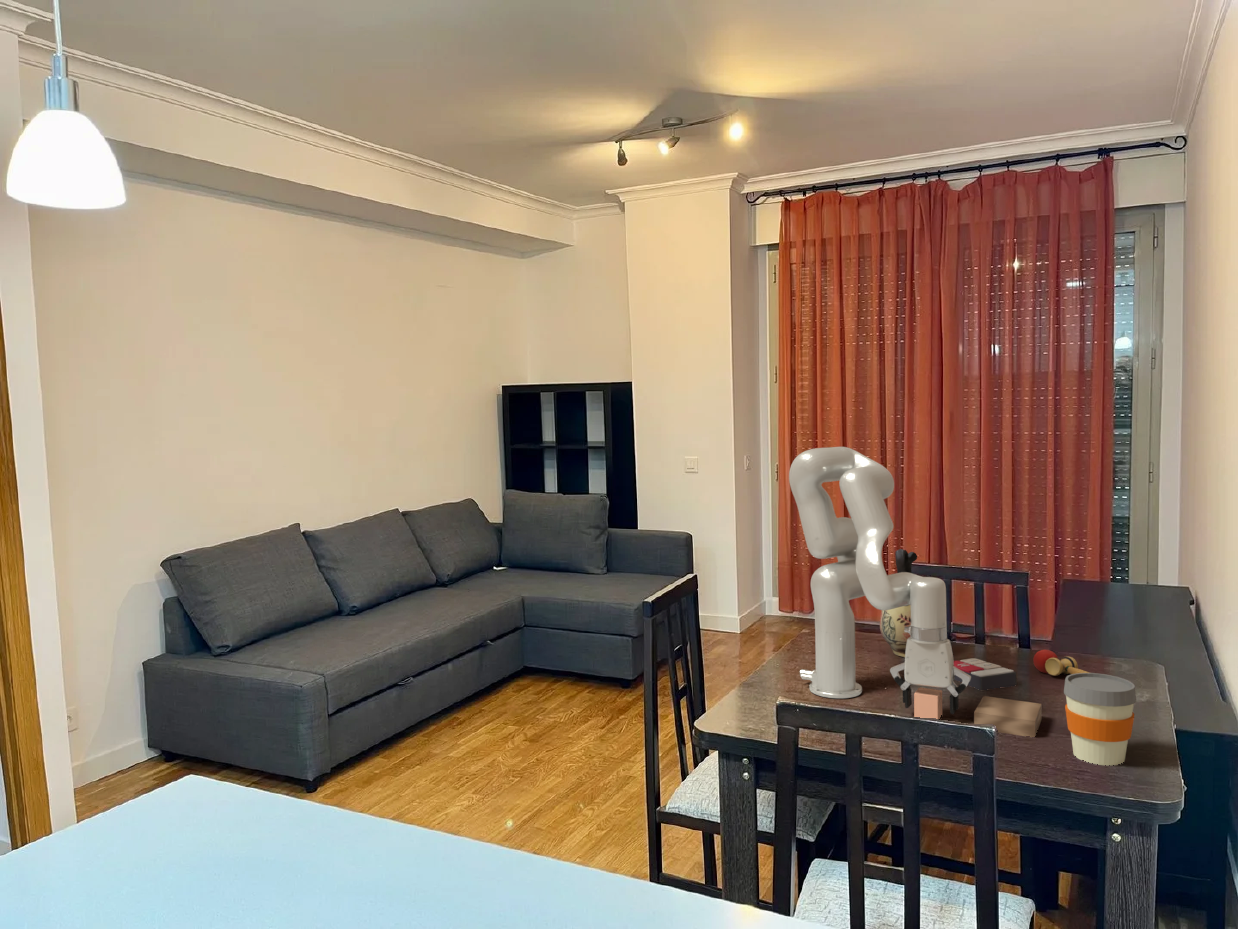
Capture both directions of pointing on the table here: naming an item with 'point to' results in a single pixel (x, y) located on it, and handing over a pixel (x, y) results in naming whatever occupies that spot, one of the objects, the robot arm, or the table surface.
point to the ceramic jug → (898, 611)
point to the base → (1009, 715)
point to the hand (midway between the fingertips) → (930, 709)
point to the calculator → (985, 674)
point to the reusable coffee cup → (1099, 716)
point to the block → (928, 703)
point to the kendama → (1055, 664)
